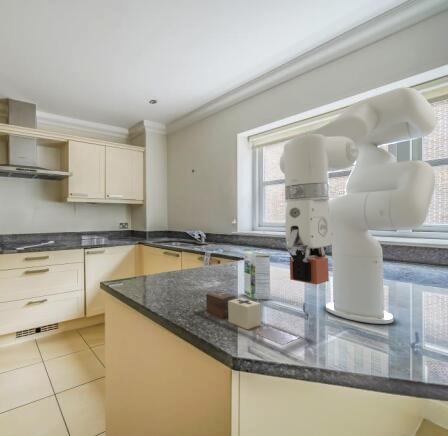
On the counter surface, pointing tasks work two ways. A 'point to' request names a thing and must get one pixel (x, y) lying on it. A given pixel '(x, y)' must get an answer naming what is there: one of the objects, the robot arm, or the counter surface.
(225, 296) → the dark wood block
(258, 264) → the syrup box
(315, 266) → the orange block
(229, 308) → the cross-marked cream cube
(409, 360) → the counter surface
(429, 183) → the robot arm
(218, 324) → the counter surface
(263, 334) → the word board
